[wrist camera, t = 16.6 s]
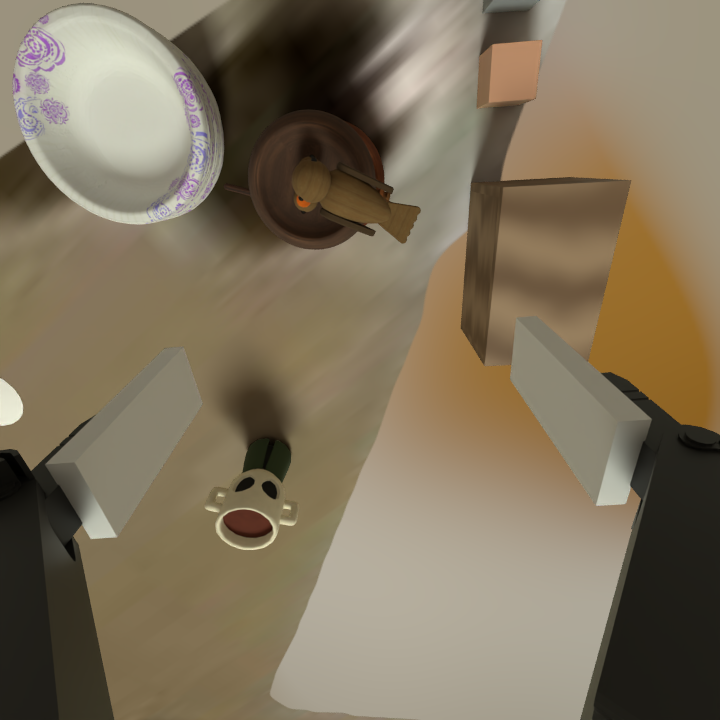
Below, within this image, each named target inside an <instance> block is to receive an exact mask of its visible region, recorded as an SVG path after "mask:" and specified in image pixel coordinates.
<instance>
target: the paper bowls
mask: <svg viewBox="0 0 720 720" xmlns="http://www.w3.org/2000/svg"><path fill="white" fill-rule="evenodd" d="M13 98H14V104H15V110H16V114H17V118H18V122H19V125H20V128H21V131H22V133H23V136H24V138H25V141H26V143H27V145H28V147H29V149H30V151H31V153H32V154H33V156H34V158H35V159H36V161H37V163H38V164H39V165H40V167H41V169H42V170H43V171H44V172H45V174H46V175H47V176H48V177H49V179H50V180H51V181H52V182H53V183H54V184H55V185H56V186H57V187H58V188H59V189H60V190H61V191H62V192H63V193H64V194H65V195H67V196H68V197H69V198H70V199H71V200H73V201H74V202H75V203H77V204H78V205H80V206H81V207H83V208H85V209H86V210H88V211H90V212H92V213H94V214H96V215H98V216H101V217H103V218H106V219H109V220H112V221H116V222H121V223H128V224H148V223H154V222H159V221H164V220H168V219H171V218H175V217H178V216H181V215H183V214H185V213H187V212H189V211H191V210H193V209H194V208H195V207H197V206H198V205H199V204H200V203H201V202H203V201H204V200H205V198H206V197H207V196H208V195H209V193H210V192H211V191H212V189H213V187H214V185H215V183H216V181H217V179H218V177H219V174H220V171H221V167H222V163H223V154H224V135H223V128H222V123H221V117H220V113H219V109H218V105H217V102H216V100H215V98H214V95H213V93H212V91H211V89H210V88H209V86H208V84H207V82H206V80H205V79H204V77H203V76H202V74H201V73H200V71H199V70H198V69H197V67H196V66H195V65H194V64H193V63H192V61H191V60H190V59H189V58H188V57H187V56H186V55H185V54H184V53H183V52H182V51H181V50H180V49H179V48H178V47H176V46H175V45H174V44H173V43H172V42H170V41H169V40H167V39H166V38H165V37H163V36H162V35H161V34H159V33H158V32H156V31H155V30H154V29H152V28H150V27H148V26H147V25H145V24H144V23H142V22H141V21H139V20H137V19H136V18H134V17H133V16H131V15H129V14H127V13H124V12H122V11H120V10H117V9H114V8H111V7H107V6H103V5H97V4H90V3H79V4H71V5H67V6H62V7H60V8H58V9H55V10H54V11H51V12H49V13H48V14H47V15H45V16H44V17H42V18H40V20H38V22H36V23H35V24H34V25H33V27H32V28H31V29H30V30H29V31H28V33H27V35H26V36H25V37H24V39H23V41H22V42H21V45H20V48H19V50H18V54H17V57H16V62H15V67H14V73H13Z"/></svg>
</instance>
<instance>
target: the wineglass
mask: <svg viewBox="0 0 720 720" xmlns="http://www.w3.org/2000/svg"><path fill="white" fill-rule="evenodd" d="M22 414H23V404H22V401H21V399H20V396H19V395H18V394H17V392H16V391H15V390H14V388H13V387H11V386H10V385H9V384H8V383H7V382H6V381H4V380H3V379H1V378H0V425H2V426H4V425H9V424H13V423H15V422H16V421H18V420H19V419H20V417H21V415H22Z"/></svg>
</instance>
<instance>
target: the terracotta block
mask: <svg viewBox="0 0 720 720" xmlns="http://www.w3.org/2000/svg"><path fill="white" fill-rule="evenodd" d="M541 47H542V40H535V41H524V42H513V43H501V44H492V45H491V46H490V47H489V48H488V49H487V50H486V51H485V52H484V53H483V54H481V55H480V56H479V73H478V92H477V109H478V108H490V107H502V106H514V105H521V104H523V103H526V102H528V101H531V100H534V99H536V92H537V83H538V74H539V65H540V56H541Z"/></svg>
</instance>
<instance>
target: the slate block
mask: <svg viewBox="0 0 720 720" xmlns="http://www.w3.org/2000/svg"><path fill="white" fill-rule="evenodd" d="M538 1H540V0H483V13H495V12H510V11H526V10H530V9H531V8H532V7H533V6H534V5H535V4H536V3H537V2H538Z"/></svg>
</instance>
